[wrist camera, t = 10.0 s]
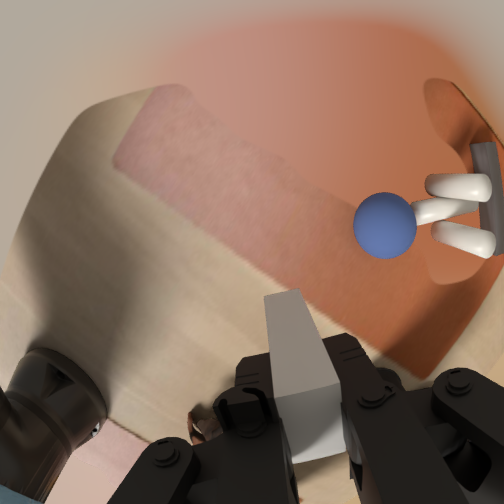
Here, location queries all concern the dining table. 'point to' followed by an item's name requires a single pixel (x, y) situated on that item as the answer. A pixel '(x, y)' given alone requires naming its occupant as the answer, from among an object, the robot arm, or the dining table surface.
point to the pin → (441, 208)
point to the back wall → (498, 206)
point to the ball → (385, 225)
